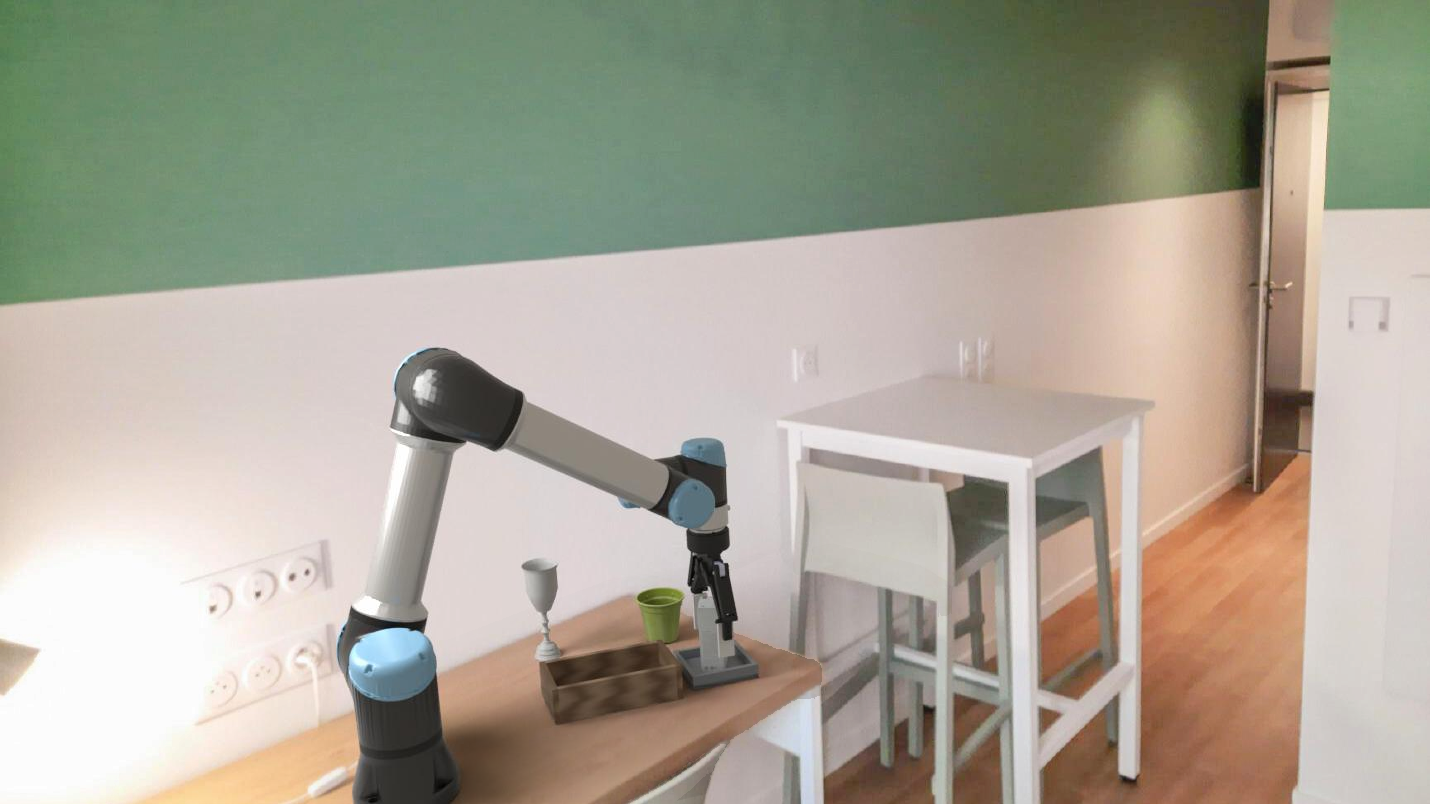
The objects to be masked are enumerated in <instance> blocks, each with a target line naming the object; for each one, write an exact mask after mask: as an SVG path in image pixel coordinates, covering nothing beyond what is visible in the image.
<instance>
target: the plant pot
mask: <svg viewBox="0 0 1430 804" xmlns="http://www.w3.org/2000/svg"><path fill="white" fill-rule="evenodd" d="M684 599H685V593H684V592H683V591H682V590H680V589H678V588H674V587H667V586H666V587H665V586H664V587H654V588H648V589H645V590H642V591H640V592H639V593H637V594H636V596H635V601H636V603H637V604H638V608H639V610H640V613H641V614H640V615H641V617H642V622H643V623H642V624H643V627H644V633H645V639H646V640H647V642H650V641H655V640H661V639H662V641H663V642H664V643H665V644H671V643H673V642H675V641H676V640H678V638H679V633H680V632H679V630H680V617H681V608H682V605H683V600H684Z"/></svg>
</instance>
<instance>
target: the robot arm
mask: <svg viewBox="0 0 1430 804" xmlns="http://www.w3.org/2000/svg"><path fill="white" fill-rule="evenodd" d="M392 389H393V393H394V398H395V401H394V406H393V411H392V415H391V416H392V417H391V419H390V420H391V421H390V425H389V430H390V431H391V433H392V434H393V436H394V437H395V439H396V445H395V451H394V456H393V459H392V465H391V470H390V474H389V479H388V482H387V483H388V484H387V488H386V492H385V497H384V501H383V507H382V509H381V510H382V511H381V515H380V519H379V524H378V528H377V533H376V538H375V540H374V541H375V542H374V546H373V551H372V556H371V560H370V565H369V570H368V575H367V579H366V583H365V589H364V591H363V592H362V593H360V594H359V595H358V596H356V597H355V598H353V599H352V600H351V604H350V608H349V611H348V618H347V619H346V620H345V622H344V623H343V624H342V626H341V627H340V630H339V631H338V632H339V633H338V635H337V639H336V640H337V641H336V646H335V647H336V648H335V651H336V653H335V655H336V661H337V664H338V666H339V669H340V670H341V673H342V674H343V677H344V679H345V682H346V685H347V687H348V689H349V692H350V695H351V698H352V700H353V701H352V702H353V706H354V707H353V708H354V712H355V721H356V722H355V723H356V731H357V737H358V744H359V745H358V746H359V756H358V757H359V758H358V761H357V765H356V771H355V773H354V778H353V783H352V787H351V788H352V789H351V797H352V804H450V803H451V802H452V801H453V800H454V799H455V798H456V797H457V795H458V794H459V792H460V789H461V775H460V768H459V766H458V764H457V762H456V760H455V758H454V756H453V754H452V751H451V749H450V747H449V746H448V744H447V741H446V739H445V737H444V732H443V724H442V723H443V721H442V713H441V704H440V692H439V685H438V684H439V683H438V676H437V675H438V674H437V665H438V662H437V661H438V660H437V656H436V653H435V651H434V646H433V643H432V641H431V639H430V638H429V637H428V636H427V635H425V630H426V627H427V622H428V618H429V611H428V609H427V608H426V606H425V605H424V603H423V602H422V599H423V594H424V590H425V589H424V588H425V585H426V580H427V575H428V572H429V567H430V562H431V558H432V553H433V548H434V546H435V545H434V544H435V540H436V536H437V531H438V526H439V521H440V518H441V513H442V508H443V504H444V499H445V495H446V490H447V486H448V481H449V477H450V472H451V467H452V463H453V458H454V454H455V453H456V451H458V450H459V449H461V448H462V447H464V446H465V445H466V444H467V442H468V443H471V444H475V445H477V446H480V447H482V448H484V449H487V450H490V451H492V452H494V453H498V452H500V451H502V450H503V451H504V450H507V451H510V452H512V453H515V454H517V455H519V456H521V457H524V458H526V459H528V460H531V461H533V462H535V463H538V464H540V465H542V466H545V467H547V468H550V469H551V470H554V471H556V472H559V473H561V474H564V475H565V476H568V477H571V478H573V479H575V480H577V481H579V482H582V483H585V484H587V485H589V486H591V487H592V488H593V487H594V488H596V489H599V490H601V491H602V492H605V493H607V494H610V495H611V496H614V497H617V500H618V501H619V504H620V505H621V506H622V507H623V508H624V509H627V510H628V509H641V508H642V509H645V510H646V511H648V512H651V513H652V514H655V515H658V516H660V517H662V518H665V519H666V520H669V521H670V522H672V523H673V524H674V525H676V526H678V527H682V528H685V529H686V531H685V532H686V533H685V534H686V535H685V537H686V548H687V550H688V551H689V552H690V557H689V564H688V565H689V566H688V573H687V583H686V584H687V587H689V588H690V593H691V594H692V595H691V599H692V601H691V602H692V614H693V615H692V616H693V617H692V618H693V629H694V630H695V631H696V630H699V627H698V614H697V608H698V602H699V601H700V598H701V597H709V595H708V593H707V592H709V591H710V593H711V596H713V600H714V604H715V608H716V611H717V615H718V619H716V621H715V623H716V624H717V638H718V656H719V658H723V657H728V656H734V655H735V651H734V639H735V635H734V622H738V621H739V616H738V612H737V607H736V602H735V597H734V592H733V586H732V582H731V577H730V576H731V575H730V565H729V563H728V562H724V560H723V559H722V556H721V554H722V553H723V552H724V551H727V550H728V549H729V548H730V545H731V541H730V539H731V538H730V527H729V526H728V524H729V511H731V506H730V504H728V487H727V484H728V483H727V467H728V465H727V459H726V450H725V446H724V443H723V442H722V441H721V440H719V439H717V438H713V437H696V438H691V439H688V440H685V441H683V442H682V443H681V446H680V451H679V452H680V454H676V455H673V456H667V457H662V458H661V457H660V458H654V459H653V458H650V457H648V456H646V455H644V454H642V453H639V452H638V451H635V450H633V449H631V448H628V447H626V446H625V445H622V444H620V443H618V442H617V441H613V440H611V439H609V438H607V437H605V436H602V435H601V434H599V433H596V432H594V431H592V430H590V429H587V428H585V427H583V426H581V425H579V424H577V423H575V422H573V421H570V420H568V419H566V418H564V417H562V416H559V415H557V414H555V413H553V412H550V411H549V410H548V409H547V410H546V409H544V408H542V407H541V406H538V405H536V404H533V403H531V402H529V401H528V400H527V398H526V395H525V393H524V392H523V391H522V390H519V389H517V388H515V387H514V386H512V385H510V384H507V383H506V382H504V381H503V380H501V379H499V378H497V376H494V375H493V374H491V372H489V371H488V370H486V369H485V368H483V367H482V366H481V365H479V364H477V363H476V362H475V361H473V360H472V359H470V358H468V357H465V356H463V355H462V354H461V353H460V352H458V351H456V350H452V349H449V348H446V347H438V346H433V347H425V348H421V349H418V350H416V351H414V352H412V353H410V354H409V355H408V356H406V357H405V358H404V359H403V360H402V361H401V363H400V364H399V366H398V367H397V368H396V371H395V374H394V379H393V388H392ZM709 589H710V590H709Z"/></svg>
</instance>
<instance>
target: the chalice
mask: <svg viewBox="0 0 1430 804" xmlns="http://www.w3.org/2000/svg"><path fill="white" fill-rule="evenodd" d="M558 565H559V560H558V559H556V558H553V557H538V558H533V559H530V560H527V561H525V562H523V563H522V564H521V567H520V568H521V569H522V571H523V572H524V580H525V590H526V591H525V592H526V595H527V596H528V599H529V601H530V603H531V605H532V606H533V607H534V609H535V611H536V612H538V613H541V614H540V615H541V620H540V623H541V624H542V629H541V631H540V632H541V634H542V635H543V640H542V641H541V642H539V644H538V645H537V646H536V650H535V653H534V656H533V657H534V659H535V660H536V661H539V662H542V661H547V660H553V659H558V658H561V656H562V652H561V651H560V648H559V647H558V645H557V643H556V642H555V641H553V640H551V639H550V637H549V636H550V632H551V629H549V627H548V626H549V623H550V620H549V619H548V614H547V613H548V612H549V611H551V610H552V607H553V605H554V603H555V601H556V597H557V592H558V589H559V583H558V572H557V571H558V570H557V568H558Z"/></svg>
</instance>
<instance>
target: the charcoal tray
mask: <svg viewBox="0 0 1430 804" xmlns="http://www.w3.org/2000/svg"><path fill="white" fill-rule="evenodd" d="M734 651H735V655H734V656H728V660H727V666H726V669H721V670H716V671H711V672H706V673H704V672H702V667H701V654H700V645H697V646H693V647H687V648H682V649H676V650H672V654H673V655H674V656H675V658H676V659H677V660H678V662H679V663H680V664H681V666H682V678H683V679H684V680H685V681H686V683H687V684H688V685H689V686H690V688H691V689H692V691H695V692H696V691H700V690H704V689H710V688H714V687H718V686H719V687H720V686H723V685H729V684H734V683H739V682H745V681H749V679H750V680H754V679H759V678H760V675H759V674H760V673H759V672H760V671H759V664H758V662H757V661H756V660H755V659H754V658H753V657H752V656H751V655H750V654H749V653H748V652H747V651H746V650H745V649H744V647H743V646H741V644H740V643H739V642H738V641H737V640H736V639H735V638H734ZM753 678H754V679H753Z"/></svg>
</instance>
